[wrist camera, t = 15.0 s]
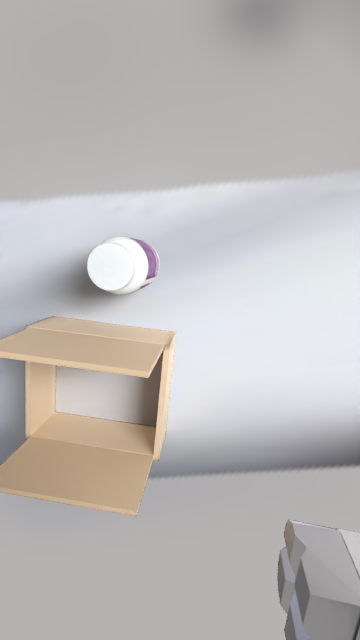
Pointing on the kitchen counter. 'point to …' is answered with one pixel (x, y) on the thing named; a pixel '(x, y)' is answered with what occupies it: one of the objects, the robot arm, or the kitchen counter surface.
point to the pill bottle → (123, 265)
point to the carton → (80, 431)
